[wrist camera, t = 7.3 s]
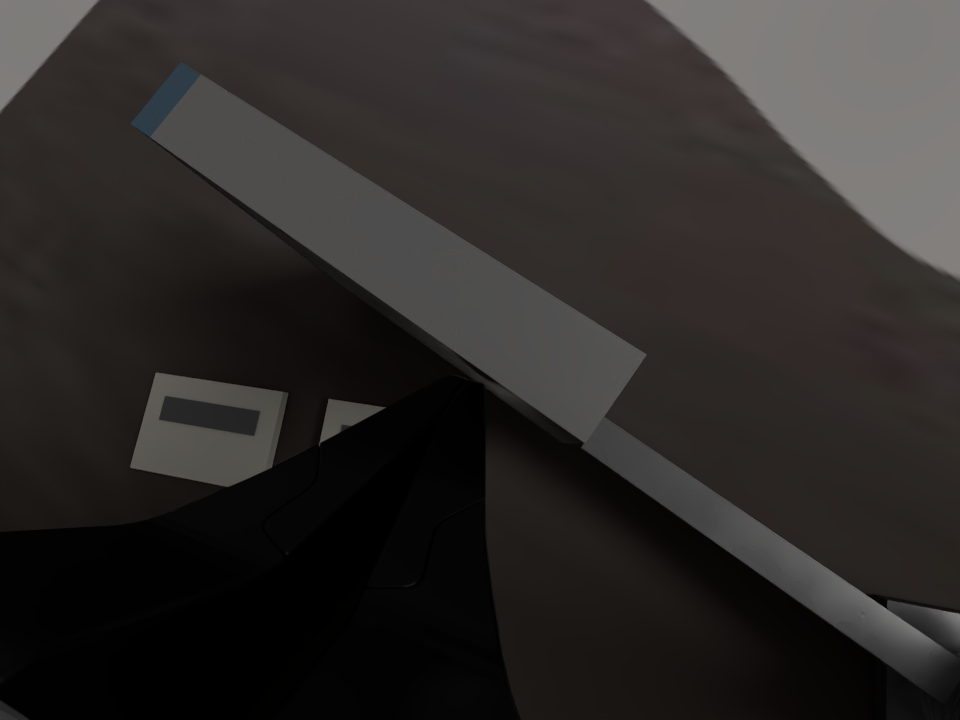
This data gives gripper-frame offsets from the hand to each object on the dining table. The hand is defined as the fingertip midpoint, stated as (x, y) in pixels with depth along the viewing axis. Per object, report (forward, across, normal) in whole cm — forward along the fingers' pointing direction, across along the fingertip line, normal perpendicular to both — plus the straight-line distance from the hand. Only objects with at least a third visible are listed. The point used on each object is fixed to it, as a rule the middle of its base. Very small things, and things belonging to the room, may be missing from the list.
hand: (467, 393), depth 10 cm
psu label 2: (+2, +11, +8) cm, 14 cm away
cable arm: (+5, -3, +5) cm, 7 cm away
